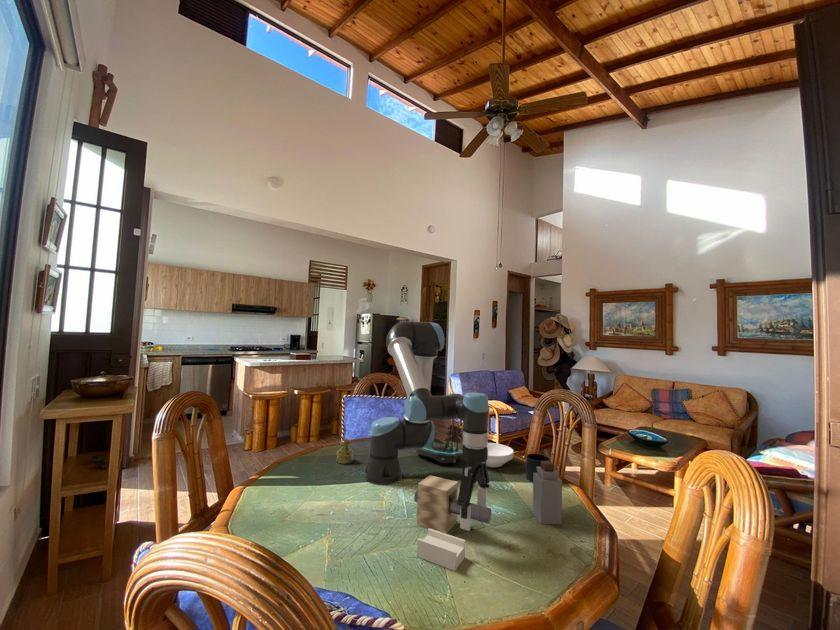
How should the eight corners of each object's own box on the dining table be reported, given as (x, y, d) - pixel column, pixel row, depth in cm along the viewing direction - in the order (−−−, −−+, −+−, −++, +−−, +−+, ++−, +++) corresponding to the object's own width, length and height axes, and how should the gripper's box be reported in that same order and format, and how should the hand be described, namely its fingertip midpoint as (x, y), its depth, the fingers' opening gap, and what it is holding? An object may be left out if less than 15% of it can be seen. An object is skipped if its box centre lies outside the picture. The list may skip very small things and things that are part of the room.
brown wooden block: (416, 524, 111) (417, 483, 112) (428, 513, 118) (429, 475, 119) (445, 534, 106) (447, 491, 107) (456, 522, 113) (457, 482, 114)
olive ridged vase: (333, 462, 162) (333, 440, 162) (342, 457, 169) (343, 436, 169) (346, 465, 159) (347, 442, 159) (355, 460, 166) (356, 438, 166)
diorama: (449, 469, 157) (452, 424, 159) (406, 456, 173) (410, 415, 175) (471, 462, 171) (474, 421, 174) (430, 451, 187) (433, 413, 190)
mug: (547, 488, 141) (548, 464, 142) (521, 478, 151) (522, 456, 151) (560, 482, 148) (560, 459, 148) (534, 473, 157) (534, 452, 157)
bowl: (488, 475, 152) (488, 458, 153) (462, 460, 170) (462, 445, 170) (522, 468, 161) (523, 452, 162) (494, 455, 179) (495, 440, 179)
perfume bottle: (532, 513, 120) (533, 459, 121) (552, 513, 121) (552, 459, 122) (541, 524, 114) (541, 466, 115) (561, 523, 114) (562, 466, 115)
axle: (414, 504, 114) (413, 493, 113) (420, 497, 118) (419, 486, 117) (487, 526, 103) (486, 514, 102) (491, 517, 106) (491, 505, 105)
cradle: (416, 556, 95) (417, 539, 95) (428, 544, 101) (429, 528, 101) (454, 571, 90) (455, 552, 90) (465, 557, 95) (465, 540, 96)
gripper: (471, 459, 95) (470, 542, 94) (499, 438, 117) (498, 505, 115) (446, 454, 99) (444, 534, 97) (477, 434, 120) (476, 499, 119)
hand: (473, 518), depth 106 cm, fingers open, 13 cm apart
